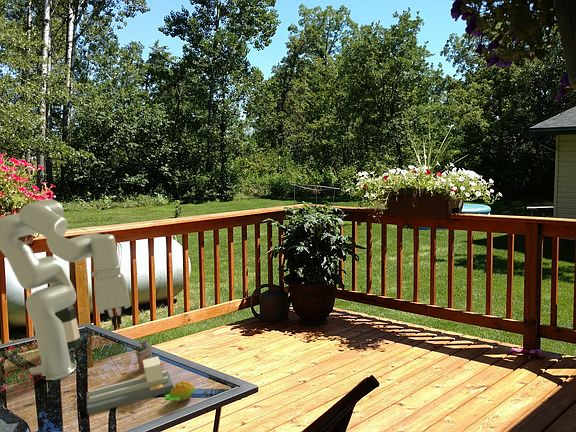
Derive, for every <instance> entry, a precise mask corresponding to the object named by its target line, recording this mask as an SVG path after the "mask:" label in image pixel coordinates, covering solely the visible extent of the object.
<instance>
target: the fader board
mask: <svg viewBox="0 0 576 432" xmlns="http://www.w3.org/2000/svg"><path fill="white" fill-rule="evenodd" d="M162 374H163V379H160V380H157V381H153V382H149V383H147V380H146V376H141V377H137V378H134V379H129V380H126V381H121V382H118V383H115V384H111V385H108V386H103V387H99V388H96V389H92V390H88V391H87V392H86V410H87V411H86V412H87V415H92V414H95V413H98V412H102V411H106V410H111V409H114V408H117V407H122V406H124V405H128V404H131V403H135V402H138V401H143V400H145V399H150V398H153V397H156V396H159V395H161V396H162V395H164V394H167V393H168V394H169V393H170V392H171V390H172V388H173V387H174V384H173V380H172V378H171V376H170V373H169V370H162Z"/></svg>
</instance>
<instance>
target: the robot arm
mask: <svg viewBox="0 0 576 432" xmlns="http://www.w3.org/2000/svg"><path fill="white" fill-rule="evenodd" d="M68 227H69V226H68V222H67V219H66V218H65V217H64V208H63V206H62V205H61V203H59V201H57V200H55V199H50V198H49V199H44V200H39V201H35V202H30V203H27V204H26V205H24V206H23V207H21V208H20V210H19V212H17V213H12V214H9V215H5V216H2V217H0V251H1V253H2V254H3V255H4V256H5V258H6V260H7V261H8V264H9V266H10V267H11V270H12V272H13V273H14V275H15V277H16V279H17V281H18V284H19V285H20V286H21V287H22V289H24V290H33V289H36V288H40V287H42V286H45V285H47V284H49V285H50V286H47V287H44V288H42V289H39V290H36V291H34V292H33V293H31V294H29V296H28V297H27V299H26V300H25V308H26V310H27V312H28V315H29V316H30V319H31V323H32V327H33V330H34V333H35V338H36V343H37V347H38V353H39V357H40V363H41V364H39V365H38V366H35V367H30V368H28V369H29V370H28V372H29V374H30V375H37V374H39V375H40V374H42V376H47V377H46V379H48V380H52V381H57V380H61V379H63V378H66V377H68V376H70V375H72V374H73V373H74V372H73V371H74V370H75V369H76V367H77V364H76V363H74V362H72V361H71V357H70V356H71V355H70V352H69V351H68V346H67V341H66V336H65V331H64V326H63V323H62V321H61V320H60V319H59V318H58V317H57V316H56V315H55V313H56V312H58V311H60V310H63V309H65V308H67V307H69V306H71V305H73V306H74V304H75V303H76V301H77V293H76V289H75V287H74V285H73V283H72V281H71V279H70V277H69V275H68V273H67V271H66V270H65V268H64V265H63V264H62V262H61V261H60V260H59V259H57V258H60V259H61V260H63V261H65V262H68V263H77V262H79V261H82V260H83V261H84V260H85V259H88V258H91V257H92V259H93V260H92V261H93V266H94V271H91V272H90V276H91V277H95V279H94V284H93V285H94V289H93V290H94V296H95V297H94V298H95V304H96V312H97V314H105V315H106V316H109V317H110V321H111V325H112V326H114V329H115V330H116V329H119V328H121V325H122V324H123V323H122V322H123V321H122V318H121V315H122V313H123V312H124V311H125V310H126V309H128V308H130V307H131V306H132V303H131V301H130V296H129V295H130V294H129V290H128V284H127V281H126V279H125V276H124V274H123V273H121V268H120V262H119V261H120V260H119V256H118V250H117V249H118V248H117V243H116V239H115V236H114V235H113V234H112V233H111V234H109V233H105V234H101V233H98V232H90V233H86V234H83V235H79V236H74V237H71V238H66V237H65V234H66V233H67V229H68ZM37 233H38V234H40V235H41V236H43V237H44V238H46V244H47V248H48V249H49V250H50V253H52V254H53V255H55V256H56V257H54V256H45V257H42V258H37V257H36V256H35V254H34V251H33V249H32V248H31V246H29V245H28V244H27V243H25V242H24V241H22V240H20V239H19V238H22V237H27V236H30V235H34V234H37ZM114 309H116V312H114V311H113V310H114ZM76 370H77V369H76ZM76 370H75V371H76ZM72 372H73V373H72ZM71 373H72V374H71Z"/></svg>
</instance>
